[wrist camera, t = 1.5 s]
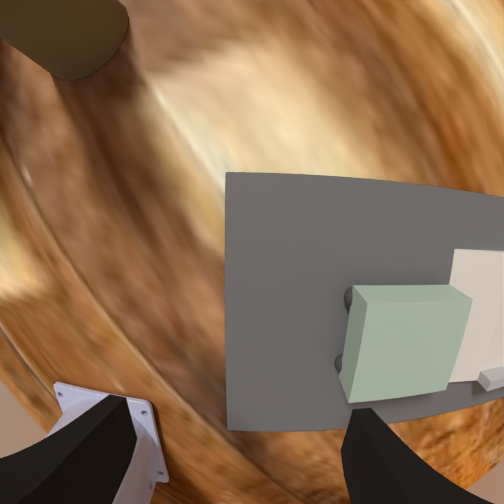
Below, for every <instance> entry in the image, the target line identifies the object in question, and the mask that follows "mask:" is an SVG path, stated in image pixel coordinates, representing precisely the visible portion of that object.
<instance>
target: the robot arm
mask: <svg viewBox="0 0 504 504" xmlns="http://www.w3.org/2000/svg"><path fill="white" fill-rule="evenodd" d="M54 390H55V393H56V396H57V398H58V401H59V404H60V406H61V409H62V412H63V415H62V416H61V418H60V419H59V420H58V422H57V423H56V424H55V426H54V427H53V428H52V430H51V431H50V432H49V434H48V435H47V436H46V438H45V439H43V440H41V441H40V442H38V443H36V444H34V445H32V446H30V447H28V448H26V449H24V450H21V451H19V452H17V453H14V454H12V455H9V456H7V457H3V458H0V504H150V501H151V498H152V495H153V491H154V488H155V485H156V482H157V481H158V482H164V483H166V482H168V481H169V475H168V471H167V468H166V464H165V460H164V456H163V452H162V448H161V444H160V440H159V436H158V431H157V427H156V422H155V418H154V413H153V408H152V405H151V403H150V402H148V401H147V400H143V399H137V398H131V397H125V396H120V395H114V394H109V393H104V392H99V391H95V390H90V389H86V388H81V387H77V386H73V385H69V384H65V383H61V382H56V383H55V384H54ZM144 411H146V412H147V413H146V412H144ZM341 455H342V464H343V471H344V477H345V481H346V485H347V489H348V493H349V497H350V500H351V504H493V503H491V502H488V501H486V500H484V499H482V498H480V497H478V496H476V495H474V494H472V493H470V492H468V491H466V490H464V489H462V488H461V487H459V486H457V485H456V484H454V483H453V482H451V481H450V480H448V479H447V478H445V477H444V476H442V475H441V474H440V473H438V472H437V471H436V470H434V469H433V468H432V467H431V466H429V465H428V464H427V463H426V462H425V461H423V460H422V459H421V458H420V457H419V456H418V455H417V454H415V453H414V452H413V451H412V450H411V449H410V448H409V447H408V446H407V445H406V444H405V443H404V442H403V441H402V440H401V439H400V438H399V437H398V436H397V435H396V434H395V433H394V432H393V431H392V430H391V429H390V428H389V427H388V425H387V424H386V423H385V422H384V421H383V420H382V419H381V418H380V417H379V416H378V415H377V414H376V413H375V412H374V410H373V409H372V408H360V409H353V410H352V413H351V417H350V421H349V424H348V428H347V431H346V435H345V438H344V441H343V445H342V448H341Z"/></svg>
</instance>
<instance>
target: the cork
mask: <svg viewBox="0 0 504 504" xmlns="http://www.w3.org/2000/svg"><path fill="white" fill-rule="evenodd" d="M128 20H129V17H128V14H127V11H126V7H125V6H123V5H122V4H121V3H120V2H119V1H118V0H0V38H2V39H3V40H5V41H6V42H7V43H9V44H10V45H12V46H13V47H15V48H16V49H17V50H19V51H20V52H22V53H23V54H24V55H26V56H27V57H29V58H30V59H31V60H33V61H34V62H36V63H37V64H38V65H40V66H41V67H43V68H44V69H45V70H47V71H48V72H49V73H51V74H52V75H54V76H55V77H57V78H59V79H61V80H77V79H80V78H84V77H87V76H89V75H90V74H92V73H93V72H95V71H97V70H98V69H100V68H101V67H102V66H103V65H104V64H105V63H106V62H108V61H109V60H110V59H111V58H112V57H113V55H114V54H115V53H116V51H117V50H118V48H119V47H120V46H121V44H122V42H123V40H124V37H125V35H126V32H127V30H128Z"/></svg>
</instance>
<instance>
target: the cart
mask: <svg viewBox="0 0 504 504" xmlns="http://www.w3.org/2000/svg"><path fill="white" fill-rule="evenodd" d="M472 301H473V299H472V298H470V297H469V296H467V295H465V294H464V293H462V292H461V291H459V290H458V289H456V288H454V287H453V286H451V285H353V286H351V287H349V288H348V289H347V290H346V291H345V293H344V302H345V304H346V305H347V306H348V307H349V308H350V312H349V319H348V326H347V333H346V339H345V345H344V351H343V353H341V354H339V355H338V356H337V357H336V359H335V362H334V365H335V368H336V370H337V371H338V372H340V374H339V379H340V381H341V384H342V387H343V390H344V392H345V395H346V398H347V401H348V403H354V402H365V401H375V400H384V399H393V398H400V397H407V396H414V395H420V394H426V393H432V392H438V391H443V390H446V388H447V385H448V382H449V380H450V377H451V374H452V371H453V368H454V365H455V362H456V359H457V356H458V353H459V350H460V346H461V343H462V340H463V336H464V333H465V329H466V325H467V321H468V317H469V313H470V309H471V305H472Z"/></svg>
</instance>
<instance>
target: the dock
mask: <svg viewBox="0 0 504 504" xmlns="http://www.w3.org/2000/svg"><path fill="white" fill-rule="evenodd" d="M353 285H451V286H453V287H454V288H456V289H458V290H459V291H461V292H462V293H464V294H465V295H467V296H469V297H470V298H472V299H473V301H472V305H471V309H470V313H469V317H468V321H467V325H466V329H465V333H464V336H463V340H462V343H461V346H460V350H459V353H458V356H457V359H456V362H455V365H454V368H453V371H452V374H451V377H450V380H449V382H448V385H447V388H446V390H443V391H438V392H432V393H426V394H420V395H414V396H407V397H400V398H393V399H384V400H375V401H365V402H354V403H348V401H347V398H346V395H345V392H344V390H343V387H342V384H341V381H340V379H339V374H340V372H338V371H337V370H336V368H335V365H334V362H335V359H336V357H337V356H338V355H339V354H341V353H343V351H344V345H345V339H346V333H347V326H348V319H349V312H350V308H349V307H348V306H347V305H346V304H345V302H344V293H345V291H346V290H347V289H348V288H349V287H351V286H353ZM225 350H226V396H227V428H228V430H236V431H272V432H281V431H317V430H333V429H346V428H348V424H349V421H350V417H351V413H352V410H353V409H360V408H372V409H373V410H374V412H375V413H376V414H377V415H378V416H379V417H380V418H381V419H382V420H383V421H384V422H385V423H386V424H389V423H395V422H401V421H407V420H413V419H418V418H424V417H429V416H433V415H438V414H443V413H447V412H451V411H455V410H459V409H463V408H467V407H471V406H474V405H478V404H481V403H485V402H488V401H491V400H495V399H498V398H501V397H504V197H498V196H493V195H487V194H481V193H475V192H469V191H463V190H456V189H450V188H443V187H435V186H428V185H420V184H412V183H403V182H394V181H384V180H374V179H363V178H350V177H337V176H322V175H304V174H282V173H245V172H226V184H225Z"/></svg>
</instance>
